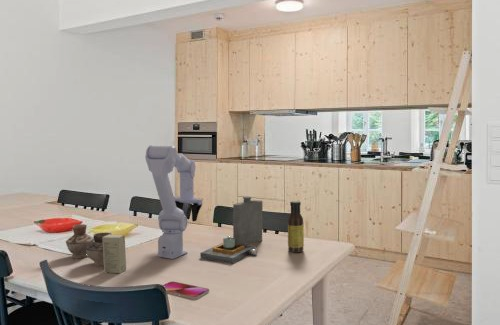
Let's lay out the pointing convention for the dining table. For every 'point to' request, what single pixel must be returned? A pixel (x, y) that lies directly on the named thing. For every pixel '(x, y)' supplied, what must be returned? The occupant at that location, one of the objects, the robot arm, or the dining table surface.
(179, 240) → the robot arm
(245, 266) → the dining table surface
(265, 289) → the dining table surface
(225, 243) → the spout can
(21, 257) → the dining table surface
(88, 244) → the pottery
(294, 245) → the sauce bottle
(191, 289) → the smartphone
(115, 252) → the skincare box
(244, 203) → the hip flask
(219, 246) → the grey square hole board
